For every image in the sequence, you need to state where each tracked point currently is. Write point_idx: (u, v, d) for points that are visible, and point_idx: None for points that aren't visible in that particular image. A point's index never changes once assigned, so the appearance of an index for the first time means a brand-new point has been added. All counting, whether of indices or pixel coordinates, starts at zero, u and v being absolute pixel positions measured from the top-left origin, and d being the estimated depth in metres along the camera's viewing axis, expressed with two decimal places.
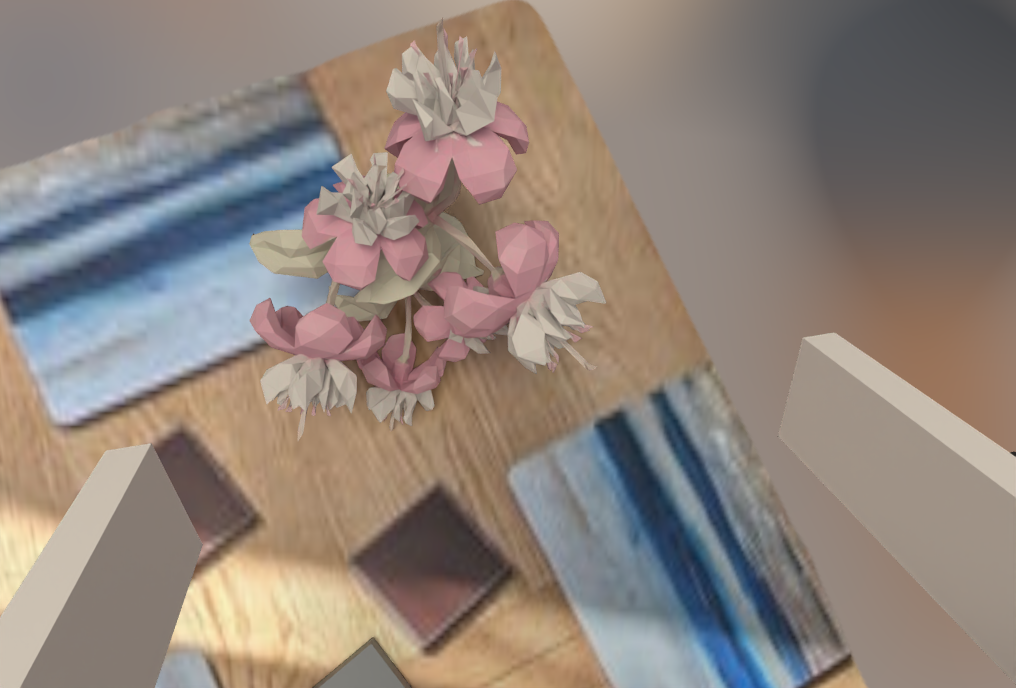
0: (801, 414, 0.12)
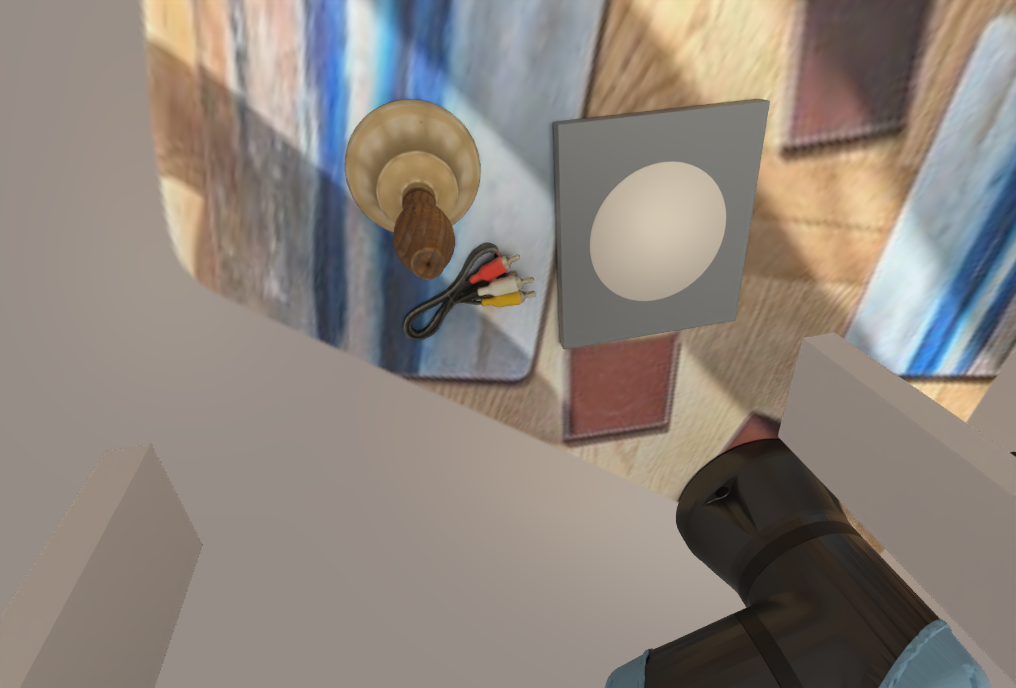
0: (801, 414, 0.12)
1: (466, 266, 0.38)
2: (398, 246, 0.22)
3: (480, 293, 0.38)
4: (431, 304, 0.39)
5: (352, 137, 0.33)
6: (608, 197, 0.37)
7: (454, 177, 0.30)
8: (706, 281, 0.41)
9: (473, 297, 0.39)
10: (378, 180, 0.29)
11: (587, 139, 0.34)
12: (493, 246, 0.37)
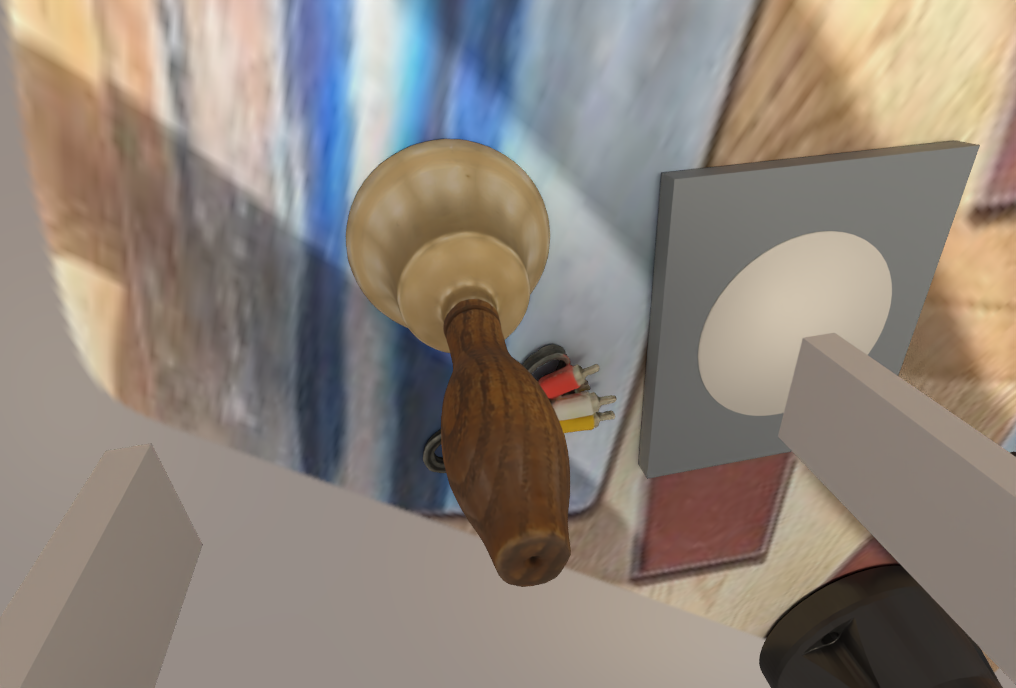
0: (801, 414, 0.12)
1: None
2: (458, 487, 0.10)
3: None
4: None
5: (358, 196, 0.21)
6: (732, 282, 0.25)
7: (525, 272, 0.18)
8: None
9: None
10: (401, 278, 0.18)
11: (714, 200, 0.23)
12: (560, 350, 0.26)
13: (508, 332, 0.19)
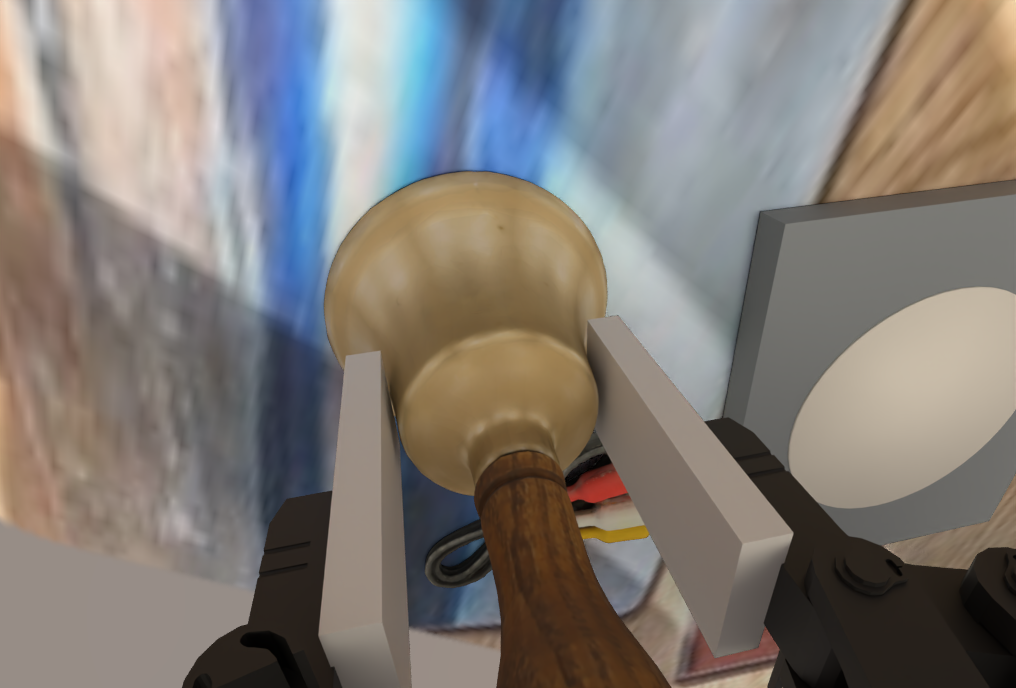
0: None
1: None
2: None
3: (578, 525, 0.20)
4: (481, 534, 0.20)
5: (340, 254, 0.14)
6: (844, 353, 0.19)
7: (594, 383, 0.12)
8: (965, 471, 0.23)
9: None
10: (405, 400, 0.11)
11: (834, 251, 0.16)
12: None
13: (563, 467, 0.13)
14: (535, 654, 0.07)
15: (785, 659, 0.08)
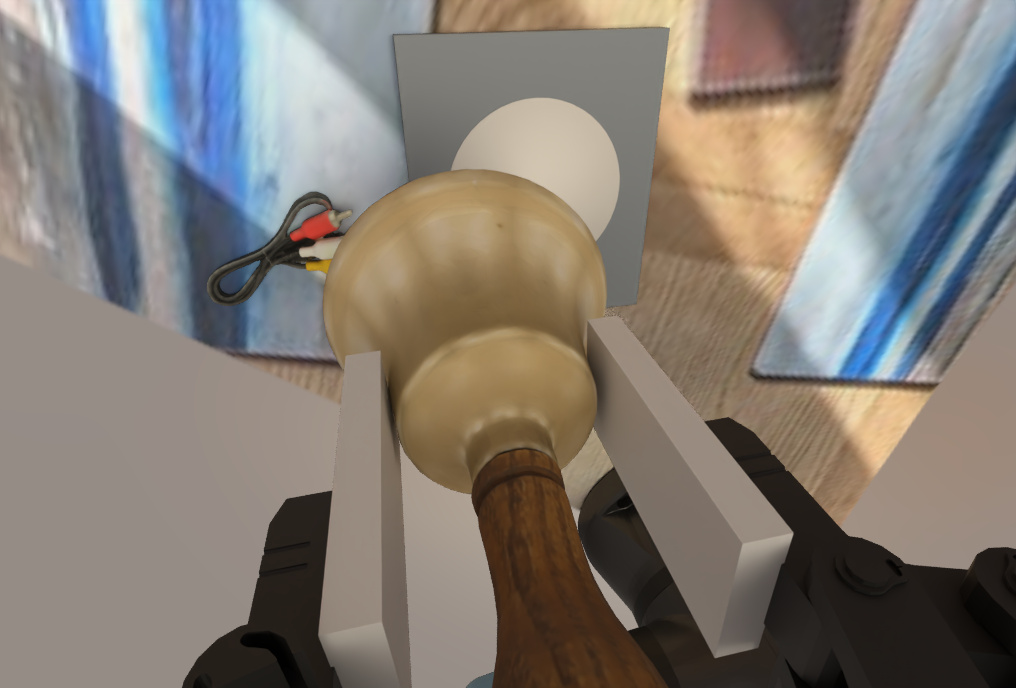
0: None
1: (287, 218, 0.30)
2: None
3: (302, 254, 0.30)
4: (242, 262, 0.31)
5: (339, 251, 0.14)
6: (467, 139, 0.29)
7: (593, 382, 0.12)
8: None
9: (297, 259, 0.31)
10: (403, 398, 0.11)
11: (434, 59, 0.27)
12: (322, 197, 0.30)
13: (562, 466, 0.13)
14: (531, 653, 0.07)
15: (785, 659, 0.08)
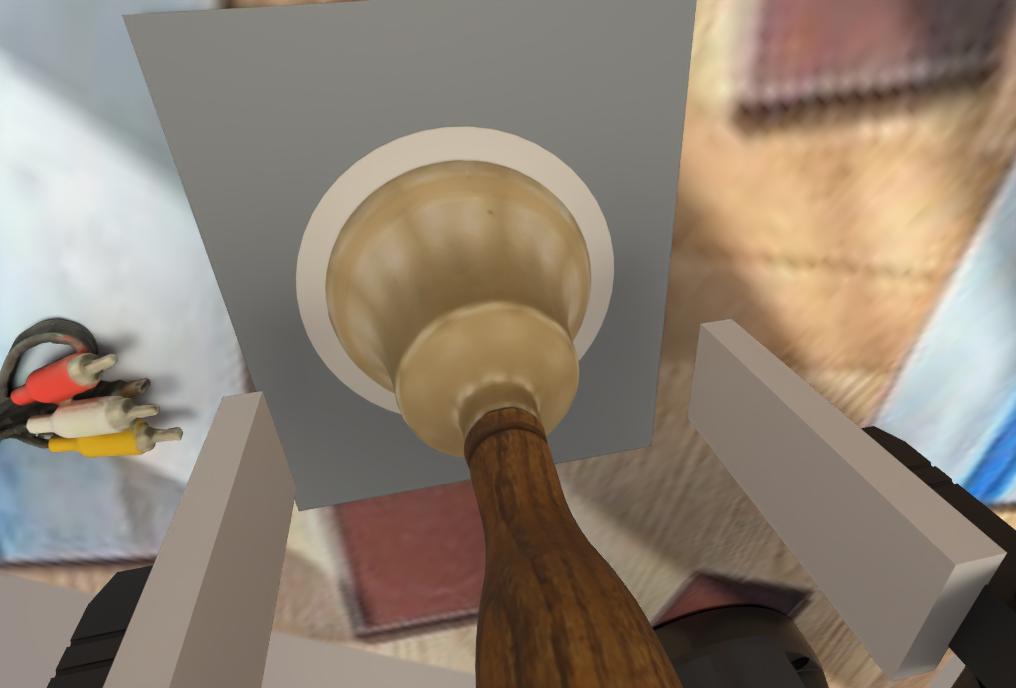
0: (702, 396, 0.13)
1: None
2: None
3: (32, 430, 0.17)
4: None
5: (341, 237, 0.15)
6: (320, 210, 0.15)
7: (575, 353, 0.13)
8: (584, 380, 0.20)
9: None
10: (401, 366, 0.12)
11: (222, 60, 0.13)
12: (66, 329, 0.17)
13: (547, 432, 0.14)
14: (514, 564, 0.08)
15: (975, 674, 0.08)
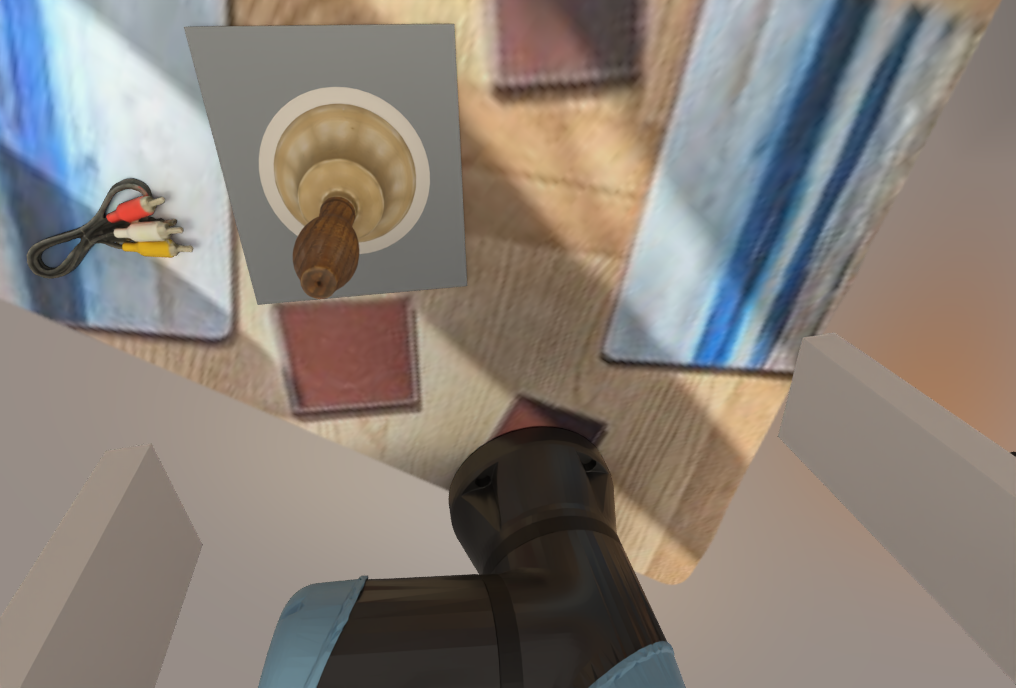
0: (801, 414, 0.12)
1: (104, 200, 0.33)
2: (294, 261, 0.21)
3: (116, 234, 0.33)
4: (61, 238, 0.33)
5: (281, 138, 0.32)
6: (271, 124, 0.32)
7: (380, 188, 0.29)
8: (420, 237, 0.37)
9: (115, 239, 0.34)
10: (299, 186, 0.29)
11: (227, 49, 0.29)
12: (139, 183, 0.32)
13: (369, 228, 0.30)
14: None
15: None
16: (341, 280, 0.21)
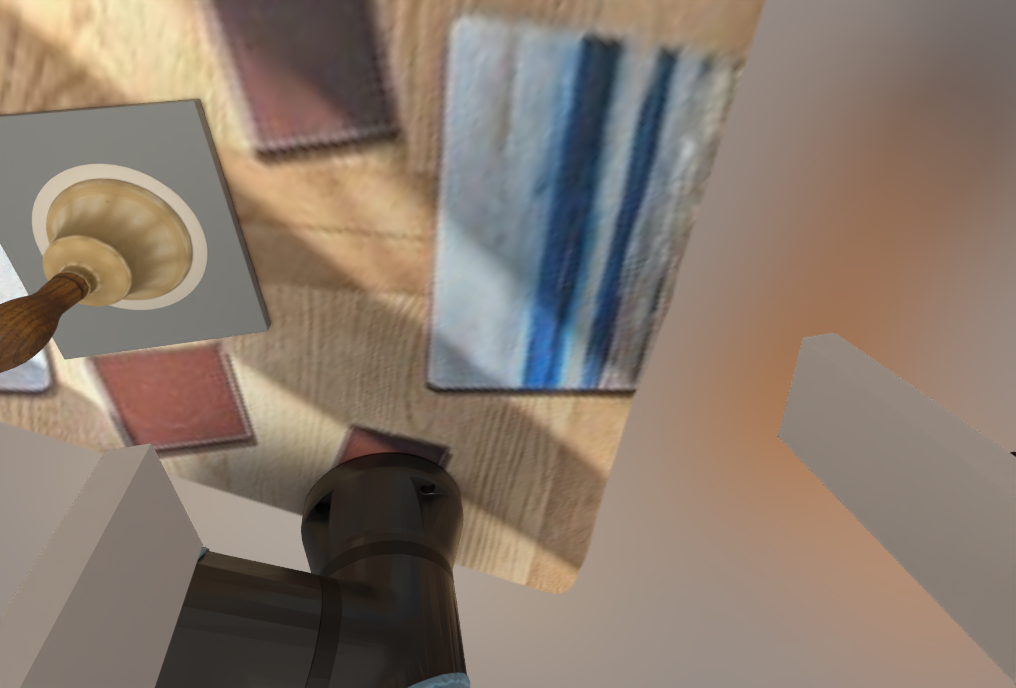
0: (801, 414, 0.12)
1: None
2: None
3: None
4: None
5: (48, 212, 0.34)
6: (38, 201, 0.34)
7: (121, 258, 0.32)
8: (210, 290, 0.39)
9: None
10: None
11: None
12: None
13: (119, 294, 0.33)
14: None
15: None
16: None
